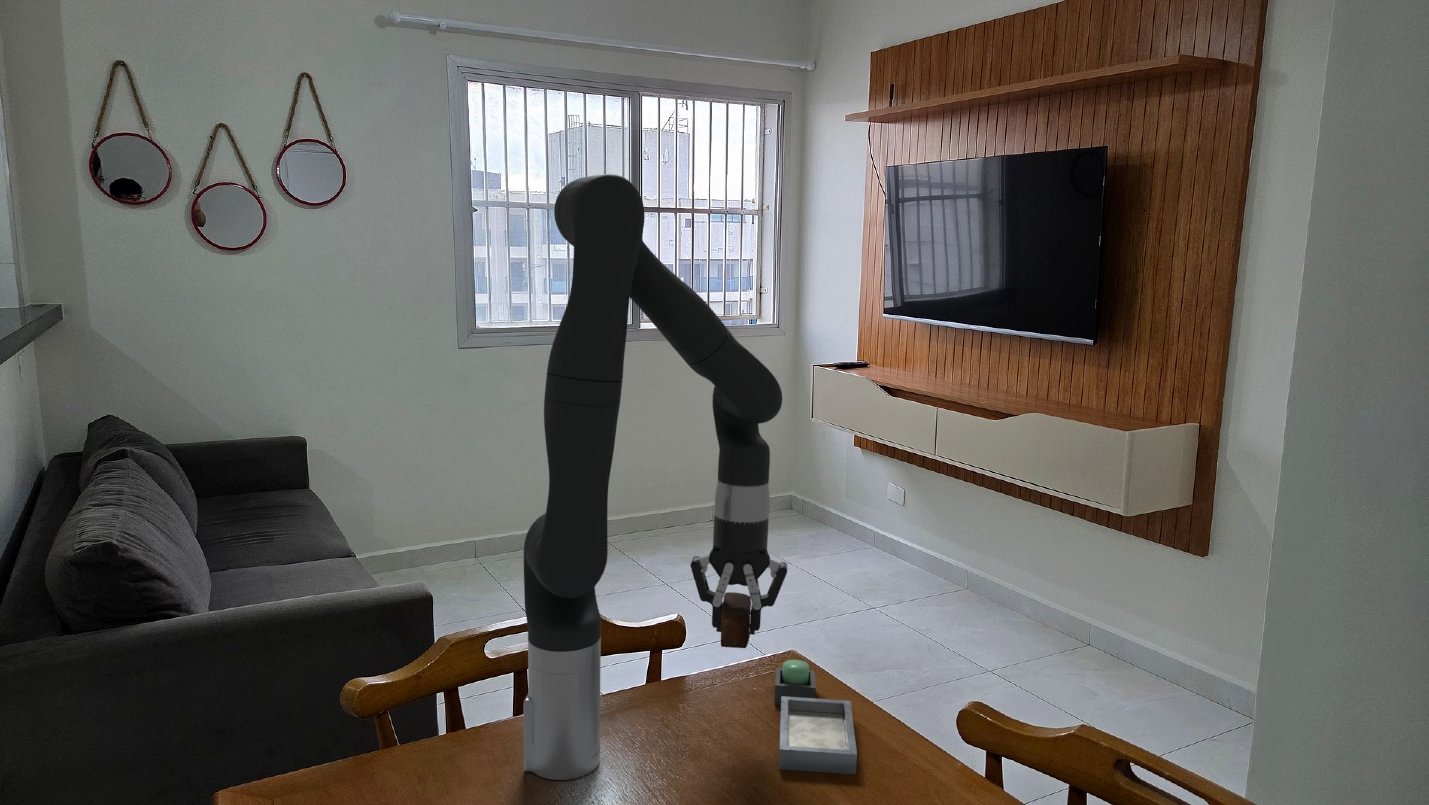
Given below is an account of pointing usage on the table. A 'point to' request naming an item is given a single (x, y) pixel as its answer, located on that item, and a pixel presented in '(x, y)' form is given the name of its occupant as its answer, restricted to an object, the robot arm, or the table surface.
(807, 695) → the button box
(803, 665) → the button
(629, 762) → the table surface
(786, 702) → the tray
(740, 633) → the brick
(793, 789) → the table surface
